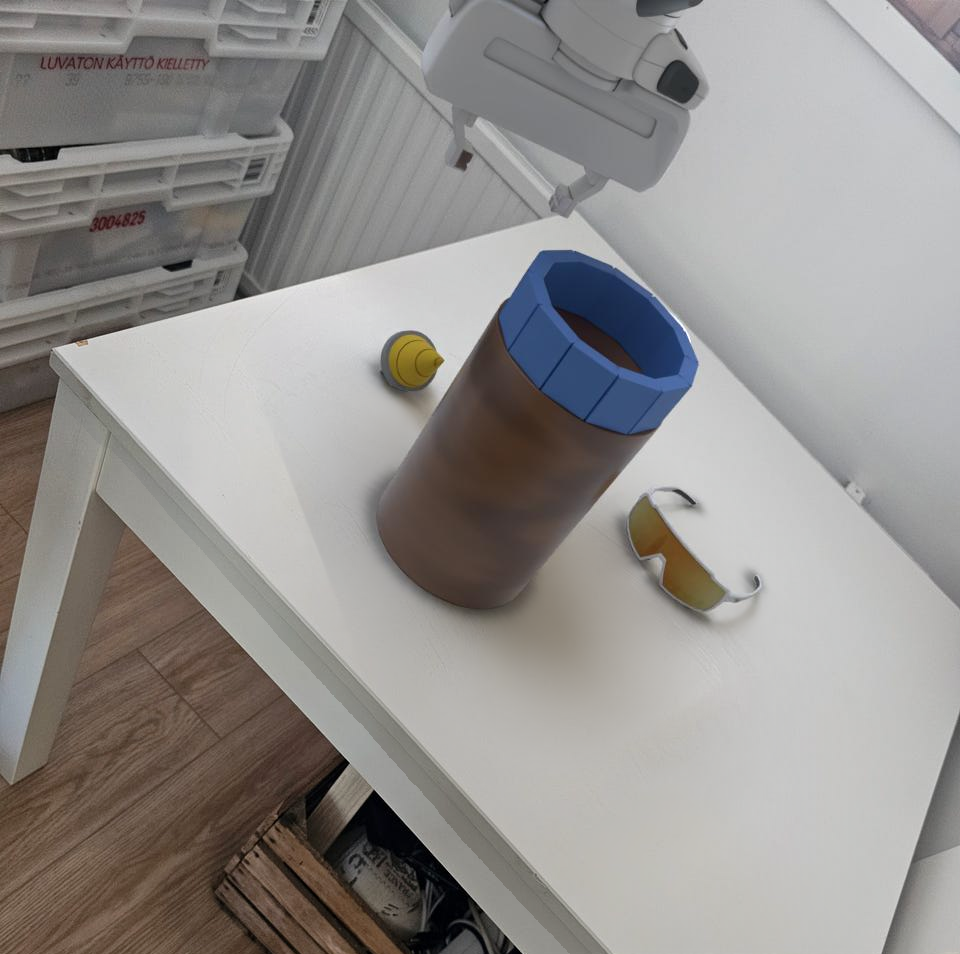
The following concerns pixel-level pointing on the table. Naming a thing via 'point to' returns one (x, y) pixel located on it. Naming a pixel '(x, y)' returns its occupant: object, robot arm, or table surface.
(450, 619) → the table surface
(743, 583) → the table surface
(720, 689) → the table surface
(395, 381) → the yellow tiered cone
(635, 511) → the sunglasses
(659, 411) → the blue segmented ring
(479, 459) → the stand
